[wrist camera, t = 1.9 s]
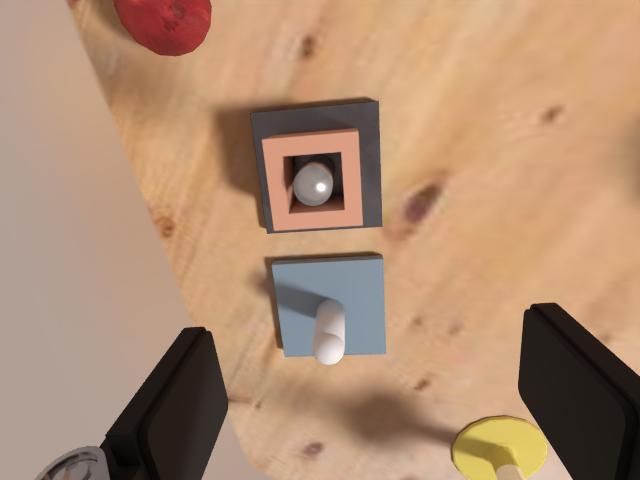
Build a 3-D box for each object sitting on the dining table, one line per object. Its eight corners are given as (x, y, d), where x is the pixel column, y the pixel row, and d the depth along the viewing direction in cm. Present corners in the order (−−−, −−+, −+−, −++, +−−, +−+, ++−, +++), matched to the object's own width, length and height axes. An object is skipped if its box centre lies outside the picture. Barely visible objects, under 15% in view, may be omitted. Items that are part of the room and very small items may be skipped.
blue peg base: (273, 260, 33) (253, 302, 26) (382, 254, 32) (393, 296, 25) (286, 350, 37) (271, 410, 29) (384, 347, 36) (395, 408, 28)
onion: (207, -39, 26) (150, -101, 18) (237, 47, 28) (196, 22, 20) (137, -9, 27) (55, -56, 19) (169, 72, 28) (106, 58, 21)
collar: (275, 134, 29) (261, 139, 24) (356, 127, 28) (358, 131, 23) (284, 212, 31) (274, 230, 26) (360, 207, 30) (362, 225, 25)
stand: (252, 113, 29) (226, 113, 22) (377, 101, 28) (387, 98, 22) (269, 230, 32) (250, 260, 26) (381, 223, 31) (390, 252, 25)
